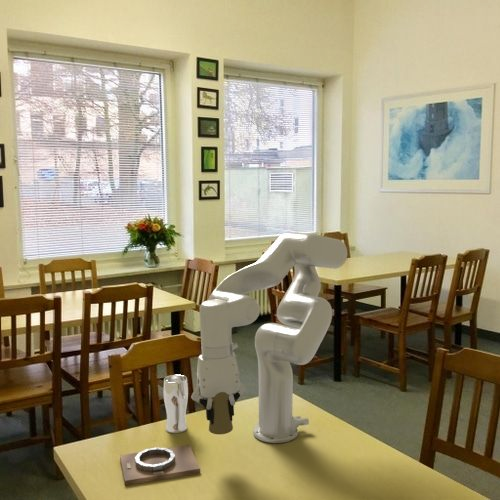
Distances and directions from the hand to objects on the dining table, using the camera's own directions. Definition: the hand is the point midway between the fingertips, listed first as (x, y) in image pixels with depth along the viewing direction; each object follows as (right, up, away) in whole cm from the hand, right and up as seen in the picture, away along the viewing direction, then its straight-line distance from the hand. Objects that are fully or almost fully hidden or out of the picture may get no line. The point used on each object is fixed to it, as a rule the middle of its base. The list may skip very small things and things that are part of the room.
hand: (220, 419), depth 139 cm
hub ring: (-16, -11, 0) cm, 19 cm away
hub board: (-15, -12, 0) cm, 19 cm away
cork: (0, -3, 0) cm, 3 cm away
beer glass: (-14, -9, +21) cm, 27 cm away
